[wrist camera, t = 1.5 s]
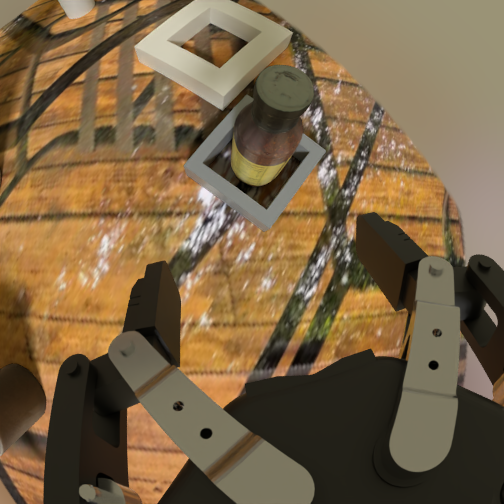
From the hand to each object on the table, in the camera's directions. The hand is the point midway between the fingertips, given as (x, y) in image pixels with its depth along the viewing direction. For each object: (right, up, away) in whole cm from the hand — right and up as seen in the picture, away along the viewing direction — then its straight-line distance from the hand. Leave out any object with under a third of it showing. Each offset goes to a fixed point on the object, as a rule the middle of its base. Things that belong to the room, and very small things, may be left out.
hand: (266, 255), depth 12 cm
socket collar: (-6, +30, +25) cm, 39 cm away
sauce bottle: (0, +11, +25) cm, 28 cm away
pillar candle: (-37, -22, +20) cm, 47 cm away
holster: (0, +11, +25) cm, 27 cm away
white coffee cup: (-33, +46, +22) cm, 61 cm away
